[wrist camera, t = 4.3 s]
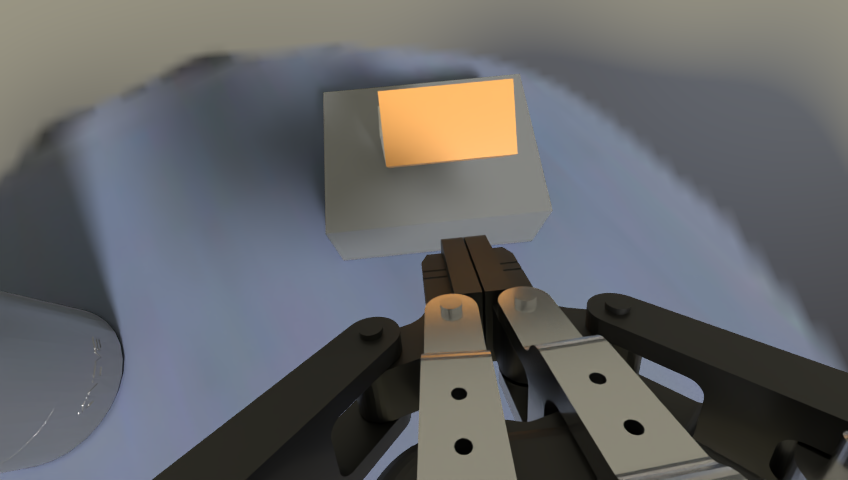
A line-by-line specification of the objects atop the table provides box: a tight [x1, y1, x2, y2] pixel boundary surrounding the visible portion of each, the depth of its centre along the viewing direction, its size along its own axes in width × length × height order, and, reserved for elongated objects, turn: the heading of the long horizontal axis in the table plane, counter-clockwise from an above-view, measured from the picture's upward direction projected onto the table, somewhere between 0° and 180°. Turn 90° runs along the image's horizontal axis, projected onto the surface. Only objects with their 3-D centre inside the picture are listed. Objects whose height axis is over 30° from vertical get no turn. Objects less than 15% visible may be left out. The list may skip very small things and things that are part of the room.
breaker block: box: [323, 74, 553, 261], centre depth 25 cm, size 13×10×8 cm
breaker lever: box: [378, 79, 518, 168], centre depth 18 cm, size 4×2×10 cm, turn 96°
